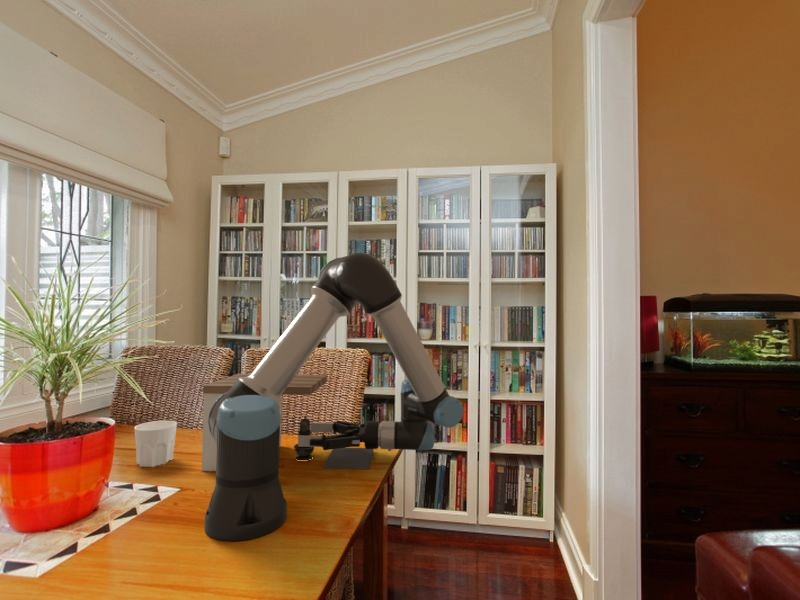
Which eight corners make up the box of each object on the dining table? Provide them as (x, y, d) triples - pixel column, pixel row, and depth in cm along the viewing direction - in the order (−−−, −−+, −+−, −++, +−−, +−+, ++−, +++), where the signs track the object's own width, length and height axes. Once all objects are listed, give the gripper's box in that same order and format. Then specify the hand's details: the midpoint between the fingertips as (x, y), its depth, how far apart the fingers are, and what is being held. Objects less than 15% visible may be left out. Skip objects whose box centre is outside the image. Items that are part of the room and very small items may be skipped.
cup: (129, 461, 112) (130, 425, 113) (169, 453, 119) (170, 418, 120) (138, 471, 105) (139, 432, 106) (180, 462, 112) (181, 425, 113)
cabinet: (308, 473, 105) (310, 387, 106) (200, 471, 105) (203, 385, 106) (326, 446, 127) (327, 374, 128) (236, 444, 127) (238, 373, 128)
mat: (368, 469, 108) (369, 465, 108) (323, 468, 109) (323, 464, 109) (373, 451, 122) (373, 448, 122) (333, 450, 123) (333, 447, 123)
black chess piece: (304, 453, 120) (304, 412, 120) (319, 457, 117) (320, 415, 117) (289, 459, 115) (290, 416, 115) (304, 463, 112) (305, 419, 112)
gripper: (375, 464, 103) (291, 462, 104) (382, 435, 128) (315, 434, 129) (375, 434, 104) (292, 432, 104) (382, 411, 129) (315, 410, 129)
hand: (304, 433), depth 116 cm, fingers open, 13 cm apart
